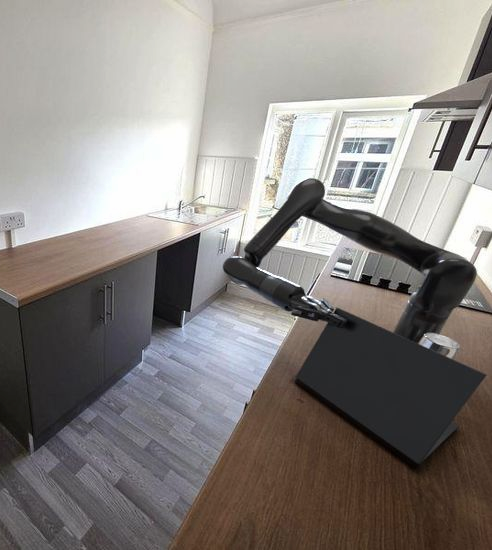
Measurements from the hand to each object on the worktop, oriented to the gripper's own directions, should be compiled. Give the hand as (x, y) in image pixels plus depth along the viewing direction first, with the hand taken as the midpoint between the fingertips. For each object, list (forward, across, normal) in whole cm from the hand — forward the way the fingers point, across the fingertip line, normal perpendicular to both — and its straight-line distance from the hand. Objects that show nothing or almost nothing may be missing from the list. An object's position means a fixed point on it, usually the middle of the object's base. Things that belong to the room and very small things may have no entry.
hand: (344, 324), depth 69 cm
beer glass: (+10, +28, +20) cm, 36 cm away
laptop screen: (+9, +1, +9) cm, 12 cm away
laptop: (+8, +8, +20) cm, 23 cm away
